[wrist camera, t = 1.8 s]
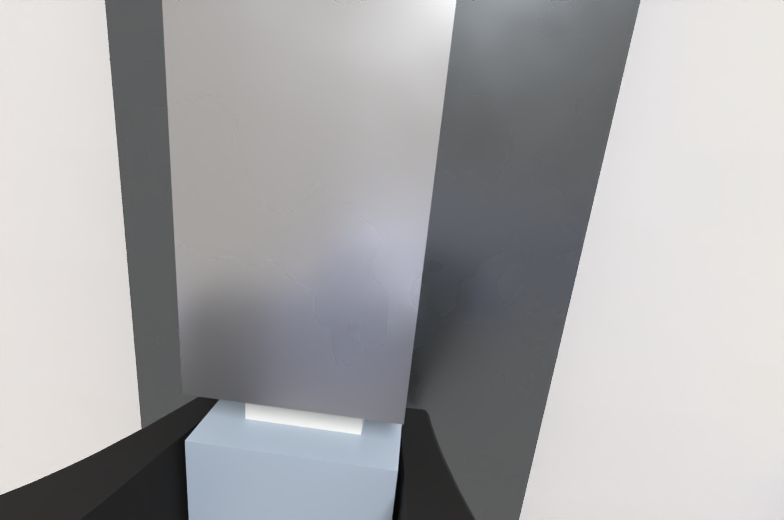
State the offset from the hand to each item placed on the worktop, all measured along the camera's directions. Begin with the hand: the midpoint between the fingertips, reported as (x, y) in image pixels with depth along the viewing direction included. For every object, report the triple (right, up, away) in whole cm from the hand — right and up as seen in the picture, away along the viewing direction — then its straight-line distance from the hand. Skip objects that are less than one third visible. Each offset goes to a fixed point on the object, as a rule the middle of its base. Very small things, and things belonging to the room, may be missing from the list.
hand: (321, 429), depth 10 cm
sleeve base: (0, 0, +3) cm, 3 cm away
